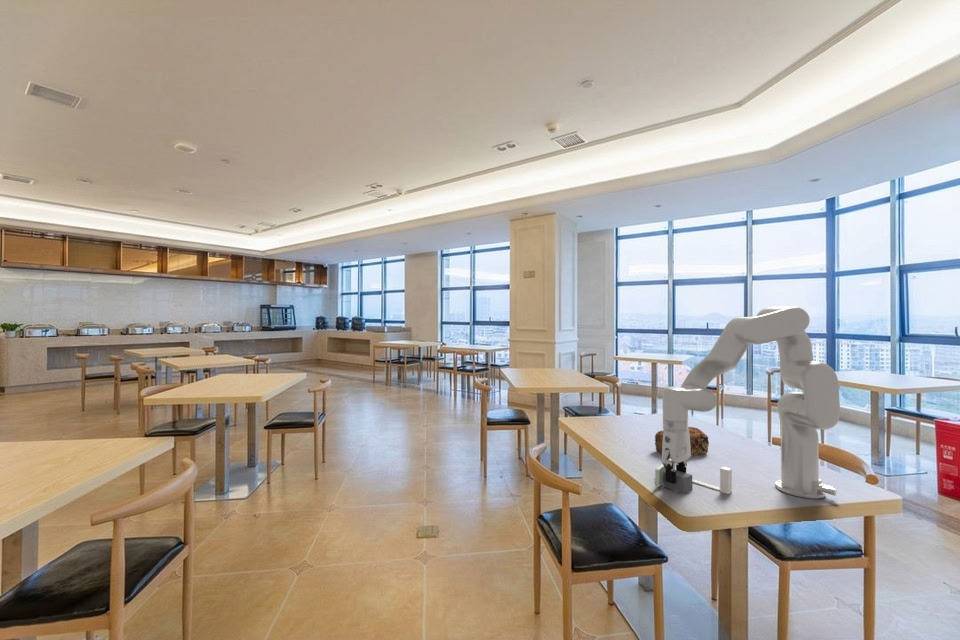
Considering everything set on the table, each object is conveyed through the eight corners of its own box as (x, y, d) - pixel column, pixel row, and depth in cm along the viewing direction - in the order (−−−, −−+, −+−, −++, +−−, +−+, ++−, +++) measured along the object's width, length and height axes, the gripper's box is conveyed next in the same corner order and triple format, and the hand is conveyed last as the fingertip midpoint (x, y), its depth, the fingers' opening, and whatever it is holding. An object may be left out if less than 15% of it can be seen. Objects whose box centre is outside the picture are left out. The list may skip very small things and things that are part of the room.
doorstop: (692, 490, 132) (692, 474, 132) (684, 494, 129) (684, 478, 129) (671, 483, 137) (671, 468, 138) (663, 487, 134) (663, 472, 135)
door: (659, 488, 132) (659, 468, 132) (655, 487, 133) (655, 467, 133) (675, 474, 144) (675, 456, 144) (671, 473, 145) (671, 455, 145)
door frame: (731, 492, 130) (731, 468, 130) (728, 494, 128) (728, 470, 128) (665, 471, 147) (665, 451, 147) (662, 473, 146) (662, 452, 146)
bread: (690, 447, 176) (690, 424, 176) (710, 455, 166) (710, 430, 166) (653, 450, 171) (653, 427, 171) (671, 459, 161) (671, 434, 161)
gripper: (672, 432, 125) (673, 490, 125) (699, 423, 135) (700, 477, 135) (650, 427, 131) (650, 482, 131) (677, 418, 141) (678, 470, 141)
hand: (676, 479), depth 133 cm, fingers open, 5 cm apart
